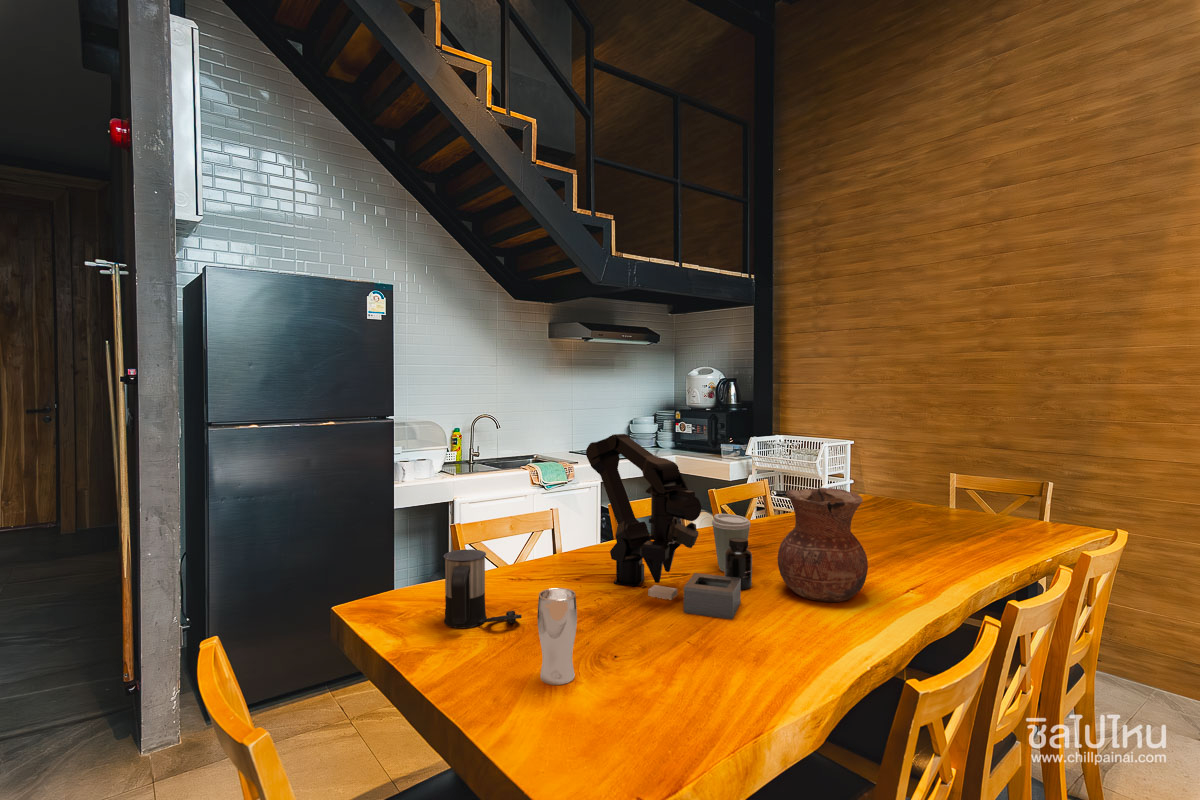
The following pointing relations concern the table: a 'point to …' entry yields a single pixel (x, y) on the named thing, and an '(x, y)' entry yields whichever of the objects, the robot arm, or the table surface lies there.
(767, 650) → the table surface
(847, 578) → the brown clay vase
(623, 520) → the robot arm
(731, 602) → the grey hollow block
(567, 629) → the beer glass
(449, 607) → the milk frother
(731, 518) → the disposable coffee cup
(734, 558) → the supplement bottle
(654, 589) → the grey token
